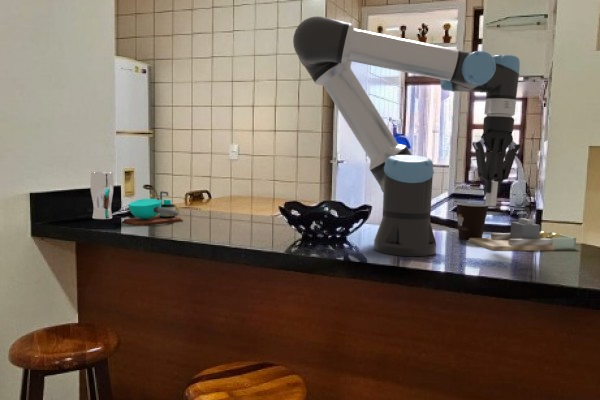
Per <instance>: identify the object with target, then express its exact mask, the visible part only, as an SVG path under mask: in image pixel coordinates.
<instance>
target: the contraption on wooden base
mask: <svg viewBox="0 0 600 400" xmlns="http://www.w3.org/2000/svg"><path fill="white" fill-rule="evenodd" d="M142 188H143V189H145V190H148V191H149V197H153V194H152V192H151V191H152V190H153V191H154V192H155V195H156V198H141V199H137V200H134V201H132V202H129V203H128V209H129V212H130V213H131V215H133V216H134V217H131V218H125V219H124V220H122V222H121V224H126V225H132V226H137V227H138V226H140V227H141V226H142V227H147V226H155V225H163V224H174V223H183V221H184V219H182V217H180V216H179V215H180V207H179V206H178V205H177V204H174V203H172V200H171V199H163V194H165V195H166V197H168V196H169V191H163V190H161V191H160V192H159V196H158V193H157V190H156V189H155V186H154V185H151V184H143V186H142ZM158 214H159V215H158ZM178 216H179V217H178Z"/></svg>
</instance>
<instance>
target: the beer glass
mask: <svg viewBox="0 0 600 400" xmlns="http://www.w3.org/2000/svg"><path fill="white" fill-rule="evenodd" d="M113 174H114V173H113V172H112V171H94V172H93V171H91V172H90V195H91V200H92V204H93V205H92V206H93V211H92V212H93V213H92V219H94V220H110V219H112V218H113V213H112V202H113V195H114V176H113Z"/></svg>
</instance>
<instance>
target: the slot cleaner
mask: <svg viewBox="0 0 600 400" xmlns="http://www.w3.org/2000/svg"><path fill="white" fill-rule="evenodd" d="M533 222H534V220H533V219H531V218H530V219H529V218H525V217H518V221H510V231H509V233H510V239H539V233H540V232H541V225H540V224H536V223H533Z"/></svg>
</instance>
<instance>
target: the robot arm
mask: <svg viewBox="0 0 600 400" xmlns="http://www.w3.org/2000/svg"><path fill="white" fill-rule="evenodd" d="M292 37H293V39H292V43H293V44H292V45H293V49H294V51H295V54H296V55H297V57H298V59H299V61H300V63H301V64H302V66H303V67H304V68H305V69H306V71H307V72H308V74H309V76H310V78H311V80H313V82H314V83H315V85H319V86H323V88H324V89H325V91H326V93H328V96H329V97H330V98H331V100H332V102H333V103H334V105H335V106H336V108H337V109H338V111H339V113H340V114H341V116H342V118H343V119H344V121H345V122H346V124H347V126H348V127H349V128H350V130H351V131H352V133H353V134H354V136H355V138H356V140H357V141H358V143H359V144H360V146H361V148H362V149H363V151H364V152H365V154H366V156H367V157H368V159H369V161H370V163H369V167H368V168H369V171H370V172H371V174H372V176H373V177H374V179H375V181H377V184H378V185H379V187H380V190H381V192H382V193H383V196H382V197H383V198H382V199H383V200H382V219H381V221H380V223H379V227H378V229H377V232H376V235H375V237H374V239H373V240H374V241H373V242H374V244H373V249H374V250H375V251H377V252H379V253H383V254H385V255H386V254H387V255H392V256H400V257H426V256H432V255H435V254H436V253H437V242H436V241H437V240H436V239H435V234H434V230H433V227H432V223H431V222H432V221H431V212H432V211H431V210H432V197H433V195H432V194H433V191H432V190H433V177H434V174H435V170H434V163H433V161H432V159H430V158H429V157H425V156H421V155H413V154H412V152H410V150H409V148H408V146H407V145H406V144H402V143H398V141H397V140H396V138H395V136H394V135H393V133H392V132H391V130H390V129H389V127H388V125H387V124H386V122H385V121H384V119H383V117H382V115H380V112H379V111H378V109H377V108H376V106H375V105H374V103H373V102H372V100H371V98H370V97H369V95H368V93H367V92H366V91H365V89H364V87H363V85H362V84H361V83H360V81H359V79H358V78H357V76H356V74H355V73H354V71H353V70H352V67H351V66H352V63H359V64H363V65H366V66H367V65H368V66H373V67H378V68H382V69H388V70H393V71H397V72H402V73H403V72H404V73H407V74H412V75H418V76H422V77H427V78H431V79H438V80H440V82H439V83H440V88H441V89H442V90H443V91H448V92H452V93H454V92H466V93H485V94H486V95H485V105H484V113H483V114H484V115H486V116H484V118H483V123H482V124H483V125H482V131H483V132H482V135H481V136H480V139H478V140H477V141H476V140H475V141H473V142H472V143H471V145H472V147H473V149H474V151H475V159H476V167H477V177H478V178H480V179H483V181H484V189H483V192H484V193H486V194H485V202H484V204H485V205H488V207H497V198H498V194H500V192H501V183H502V182H504V181H505V180H508V179H509V177H510V173H511V170H512V167H513V164H514V161H515V158H516V155H517V153H518V151H519V150H520V148H521V144H519V143H516V142H515V141H514V137H513V132H514V125H515V119H514V117H513V116H515V115H516V104H517V94H518V86H519V79H520V76H521V74H520V65H521V64H520V61H521V60H520V59H519V57H518V56H517V55H512V54H497V55H492V54H490V53H489V52H487V51H484V50H478V51H477V50H476V51H473V52H471V51H466V50H460V49H456V48H450V47H445V46H441V45H437V44H436V45H435V44H431V43H426V42H422V41H417V40H411V39H407V38H401V37H397V36H393V35H387V34H383V33H377V32H372V31H368V30H362V29H358V28H355V27H354V25H353V24H352V23H351V22H346V21H341V20H336V19H333V18H330V17H325V16H324V17H323V16H310V17H308V18H306V19H304V20H303V21H301V22H300V23H299V24H298V25H297V27H296V28H295V31H294V34H293V36H292ZM484 148H485V149H484ZM485 155H486V156H485Z"/></svg>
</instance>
